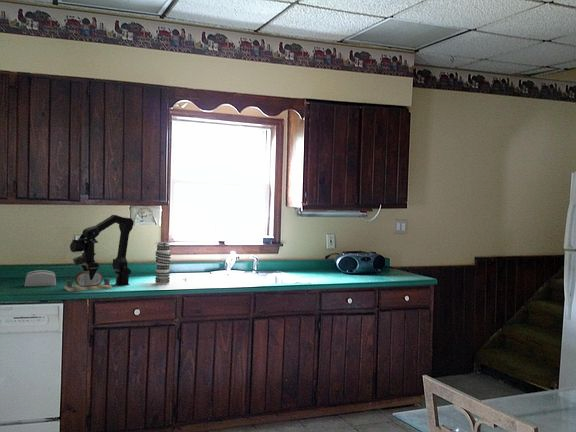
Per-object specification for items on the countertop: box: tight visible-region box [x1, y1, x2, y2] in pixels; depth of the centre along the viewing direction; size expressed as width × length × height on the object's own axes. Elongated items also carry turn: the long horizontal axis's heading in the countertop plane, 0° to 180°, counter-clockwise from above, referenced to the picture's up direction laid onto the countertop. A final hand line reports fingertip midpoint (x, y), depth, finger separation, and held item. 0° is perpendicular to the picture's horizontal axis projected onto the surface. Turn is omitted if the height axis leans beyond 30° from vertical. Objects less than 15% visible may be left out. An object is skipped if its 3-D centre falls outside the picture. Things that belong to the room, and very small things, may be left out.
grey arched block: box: [24, 269, 57, 288], centre depth 355 cm, size 17×5×10 cm, turn 116°
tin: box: [74, 270, 104, 287], centre depth 350 cm, size 15×3×8 cm, turn 125°
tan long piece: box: [63, 277, 113, 292], centre depth 351 cm, size 24×9×5 cm, turn 125°
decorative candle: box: [154, 241, 172, 286], centre depth 377 cm, size 9×9×25 cm
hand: (88, 278), depth 351 cm, fingers open, 9 cm apart
